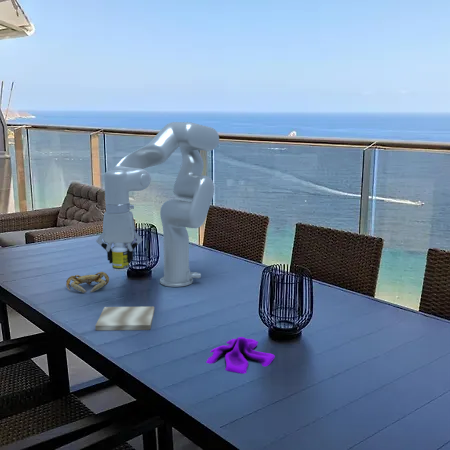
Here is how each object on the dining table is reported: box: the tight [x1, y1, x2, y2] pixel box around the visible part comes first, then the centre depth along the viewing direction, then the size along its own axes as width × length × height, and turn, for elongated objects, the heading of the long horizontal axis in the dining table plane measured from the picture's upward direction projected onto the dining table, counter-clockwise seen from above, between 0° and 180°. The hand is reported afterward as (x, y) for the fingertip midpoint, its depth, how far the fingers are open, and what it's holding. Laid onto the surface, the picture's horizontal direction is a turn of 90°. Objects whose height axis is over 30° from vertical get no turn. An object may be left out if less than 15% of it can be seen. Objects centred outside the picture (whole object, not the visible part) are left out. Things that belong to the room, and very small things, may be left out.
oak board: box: [94, 306, 155, 331], centre depth 166 cm, size 16×16×2 cm
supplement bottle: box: [111, 243, 130, 272], centre depth 178 cm, size 5×5×10 cm
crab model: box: [65, 271, 110, 294], centre depth 197 cm, size 16×13×6 cm
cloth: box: [205, 336, 276, 375], centre depth 141 cm, size 22×19×6 cm
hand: (120, 261), depth 179 cm, fingers closed on supplement bottle, 5 cm apart
